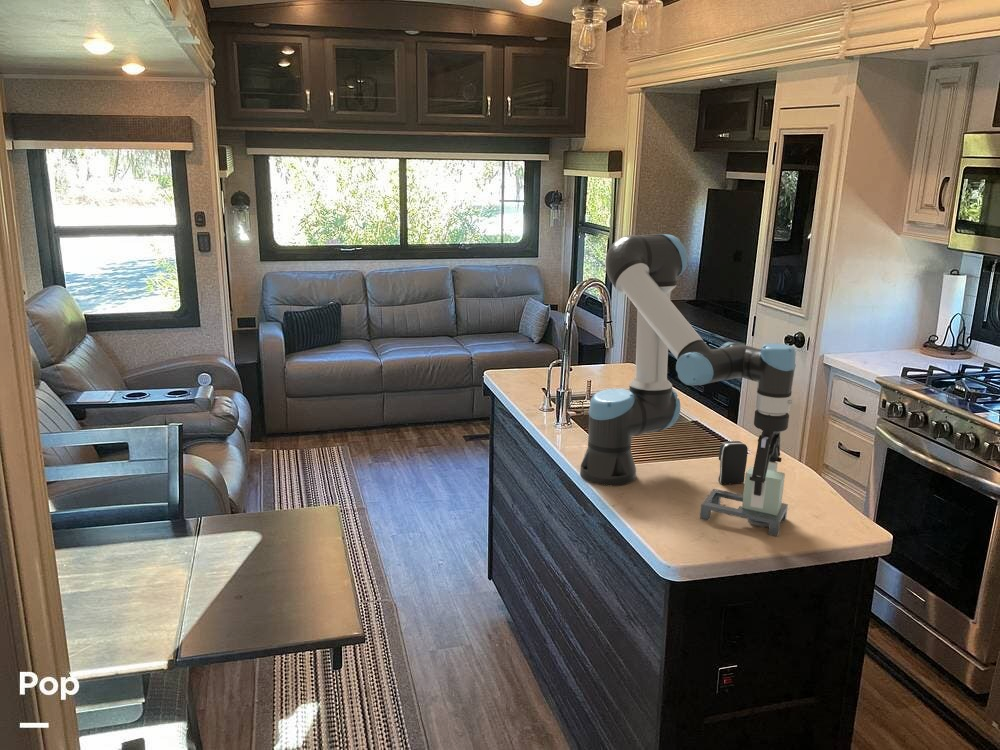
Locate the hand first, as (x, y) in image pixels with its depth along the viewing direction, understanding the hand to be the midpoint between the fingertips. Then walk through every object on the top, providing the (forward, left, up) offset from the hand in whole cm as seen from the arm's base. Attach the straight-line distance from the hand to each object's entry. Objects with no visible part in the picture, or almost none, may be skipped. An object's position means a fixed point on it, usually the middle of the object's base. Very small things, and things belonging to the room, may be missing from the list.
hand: (762, 496), depth 186 cm
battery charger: (-13, +22, -7) cm, 26 cm away
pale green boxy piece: (0, 0, -6) cm, 6 cm away
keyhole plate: (-4, 0, -7) cm, 8 cm away
